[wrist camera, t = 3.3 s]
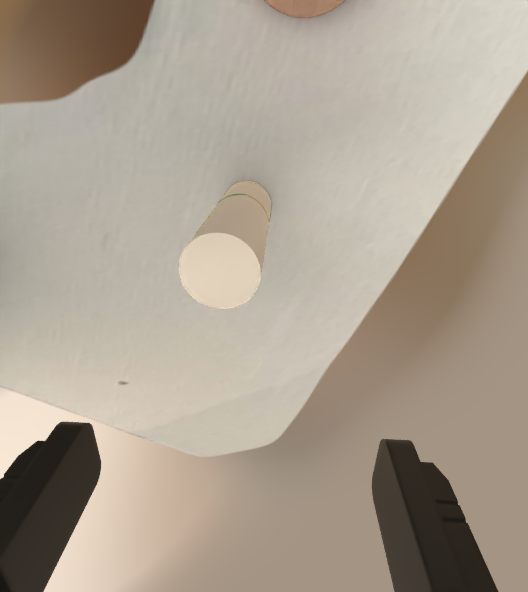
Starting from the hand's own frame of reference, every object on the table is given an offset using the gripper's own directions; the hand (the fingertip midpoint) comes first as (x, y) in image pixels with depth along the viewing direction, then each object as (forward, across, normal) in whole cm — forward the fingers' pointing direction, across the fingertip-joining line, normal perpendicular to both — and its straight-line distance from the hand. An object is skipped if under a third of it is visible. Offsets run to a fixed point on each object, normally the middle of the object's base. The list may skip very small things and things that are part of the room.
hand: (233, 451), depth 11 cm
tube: (+26, +2, -1) cm, 26 cm away
